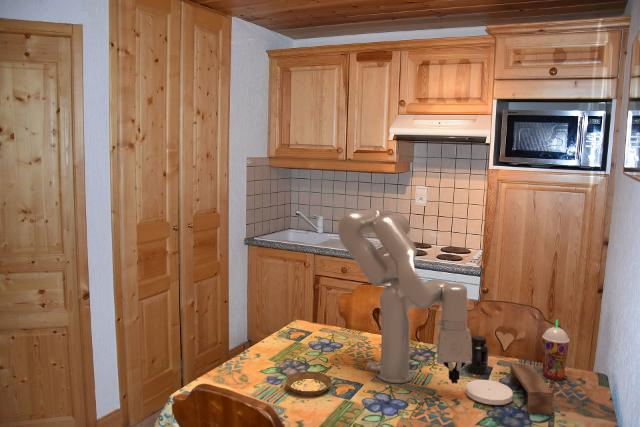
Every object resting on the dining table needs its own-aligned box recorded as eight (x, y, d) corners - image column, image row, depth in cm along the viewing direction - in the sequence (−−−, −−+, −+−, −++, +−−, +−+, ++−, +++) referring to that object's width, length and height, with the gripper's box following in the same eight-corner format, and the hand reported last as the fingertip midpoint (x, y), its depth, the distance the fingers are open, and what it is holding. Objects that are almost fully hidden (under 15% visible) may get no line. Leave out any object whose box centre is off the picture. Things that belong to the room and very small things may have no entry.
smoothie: (555, 383, 173) (559, 325, 171) (534, 374, 180) (538, 317, 178) (571, 379, 177) (576, 321, 174) (551, 369, 184) (554, 314, 182)
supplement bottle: (488, 376, 178) (490, 342, 177) (467, 374, 180) (469, 340, 178) (486, 367, 185) (488, 335, 184) (466, 366, 186) (467, 333, 185)
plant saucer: (309, 374, 178) (309, 367, 178) (341, 389, 168) (341, 381, 167) (276, 387, 168) (276, 380, 168) (307, 404, 157) (307, 395, 157)
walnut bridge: (528, 413, 153) (530, 391, 152) (509, 383, 173) (510, 363, 172) (551, 414, 153) (553, 392, 152) (529, 384, 172) (530, 364, 172)
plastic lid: (462, 385, 172) (463, 378, 171) (507, 388, 170) (507, 381, 169) (468, 406, 158) (469, 398, 158) (517, 409, 156) (517, 401, 156)
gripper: (431, 327, 158) (431, 386, 160) (481, 328, 157) (481, 387, 159) (428, 320, 166) (428, 376, 168) (476, 320, 165) (475, 377, 166)
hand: (454, 381), depth 163 cm, fingers closed
